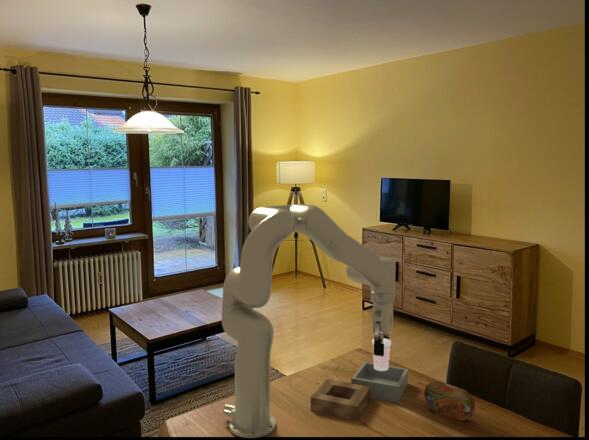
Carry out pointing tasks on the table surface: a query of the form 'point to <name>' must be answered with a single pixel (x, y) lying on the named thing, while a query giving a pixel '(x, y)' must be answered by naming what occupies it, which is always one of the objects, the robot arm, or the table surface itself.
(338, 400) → the holder block
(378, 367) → the beverage cup
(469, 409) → the tin
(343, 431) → the table surface
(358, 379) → the tray
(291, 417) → the table surface
